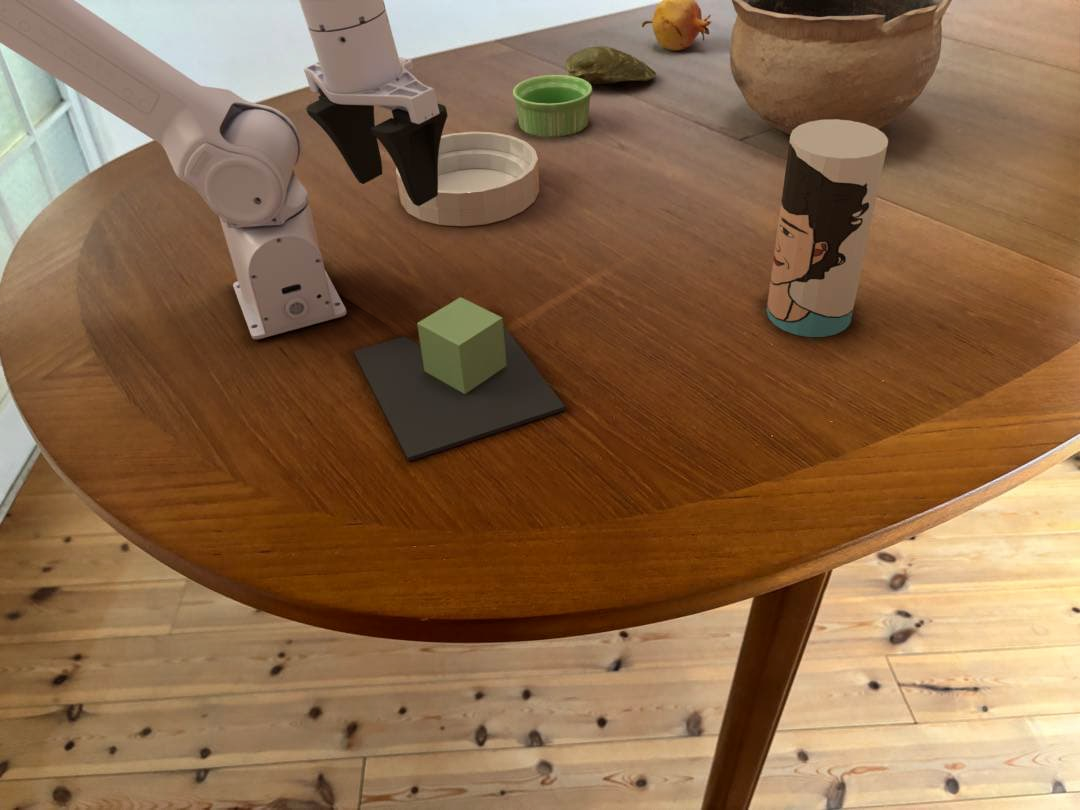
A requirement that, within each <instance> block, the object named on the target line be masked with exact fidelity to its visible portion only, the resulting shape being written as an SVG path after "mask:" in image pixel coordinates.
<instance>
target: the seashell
mask: <svg viewBox="0 0 1080 810" xmlns="http://www.w3.org/2000/svg"><path fill="white" fill-rule="evenodd" d="M564 69H565V70H566V71H567V72H568V73H569V76H573V77H578V78H581V79H583V80H585V81H587V82H588V83H589V84H590V85H592V84H594V85H595V84H596V85H604V84H614V83H618V82H630V81H635V82H636V81H642V82H646V81H649V80H651V79H653V78H656V77H657V72H656V71H655V70H654V69H652V68H651V67H650V66H649V65H648V64H646V63H645V62H644V61H641V60H639V59H638V58H637V57H635V56H632V54H629V53H626V52H624V51H621V50H619V49H615V48H613V47H609V46H604V45H603V46H602V45H600V46H597V45H596V46H588V47H585V48H583V49H581V50H579V51H577V52H574V53H572V54H571V55H569V57H568V58H567V59H566V61H565V65H564Z"/></svg>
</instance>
